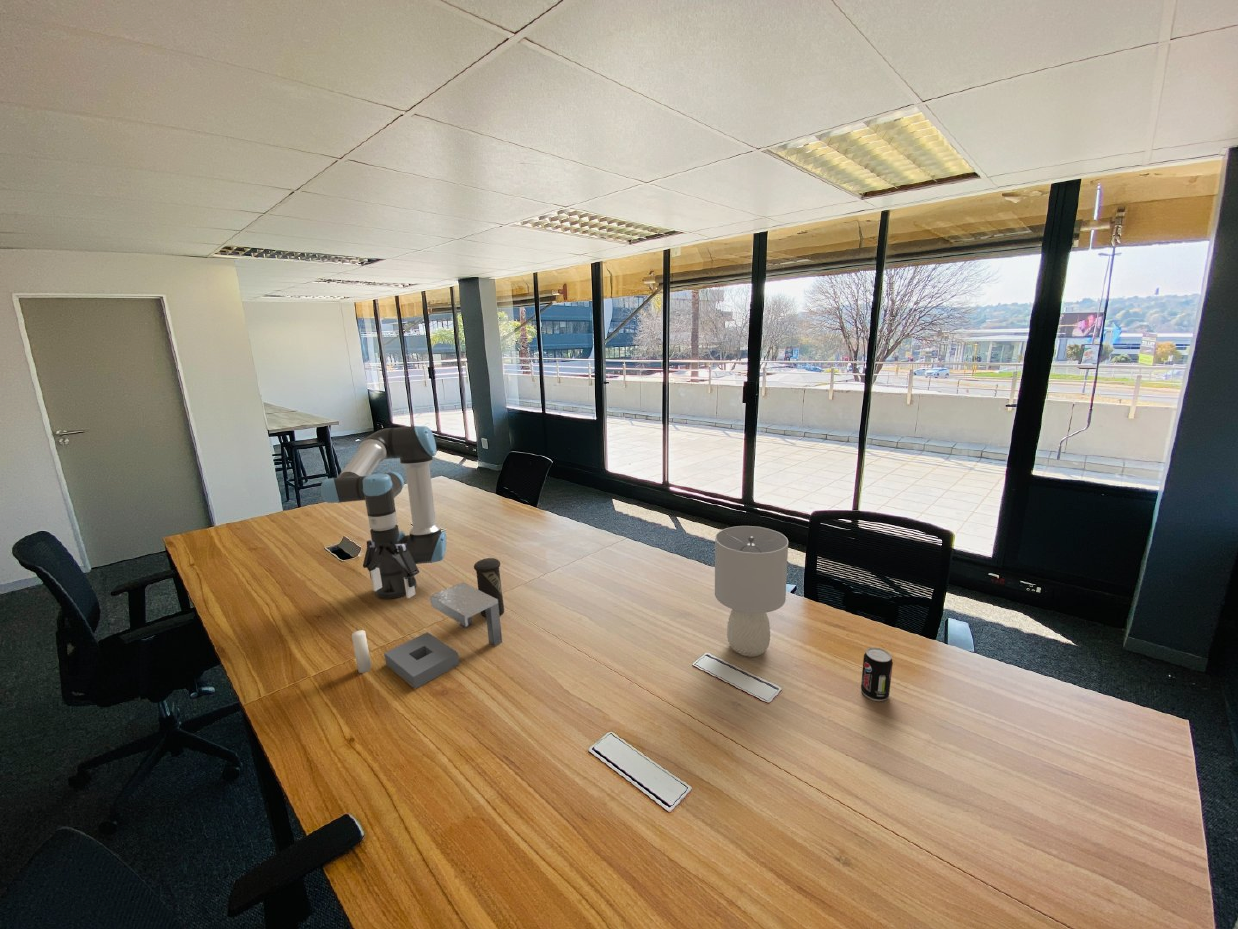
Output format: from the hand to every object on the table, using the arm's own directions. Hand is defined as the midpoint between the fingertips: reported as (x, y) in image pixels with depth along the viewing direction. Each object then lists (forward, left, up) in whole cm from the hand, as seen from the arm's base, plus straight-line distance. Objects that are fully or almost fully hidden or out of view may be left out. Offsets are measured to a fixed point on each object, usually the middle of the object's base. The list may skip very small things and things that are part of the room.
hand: (394, 592), depth 150 cm
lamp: (+84, +67, -21) cm, 109 cm away
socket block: (+10, +1, -21) cm, 23 cm away
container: (+2, +32, -21) cm, 38 cm away
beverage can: (+119, +69, -21) cm, 139 cm away
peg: (-2, -11, -21) cm, 24 cm away
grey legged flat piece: (+10, +17, -21) cm, 29 cm away
